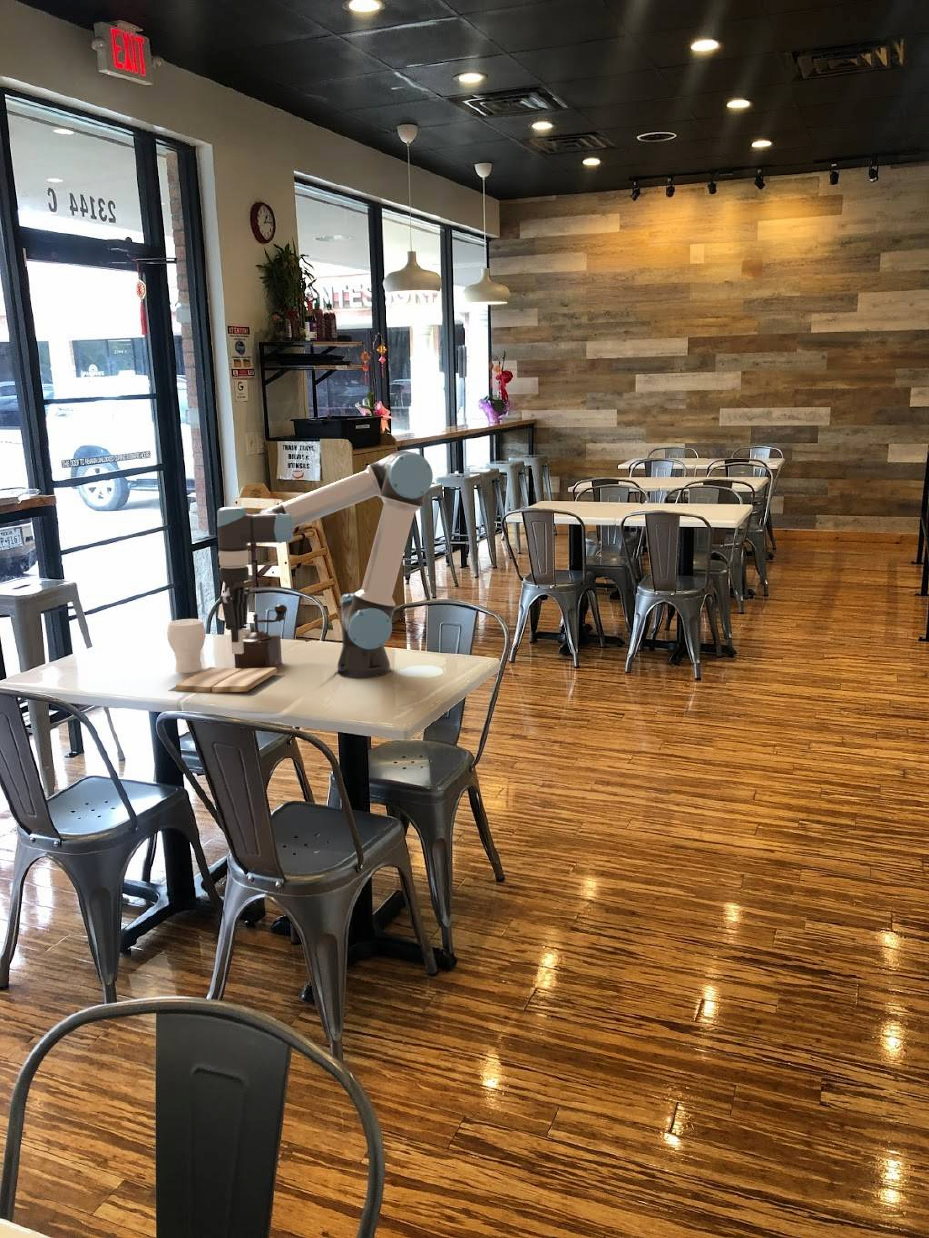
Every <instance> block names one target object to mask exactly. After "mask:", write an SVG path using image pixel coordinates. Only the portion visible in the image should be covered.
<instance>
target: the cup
mask: <svg viewBox="0 0 929 1238" xmlns="http://www.w3.org/2000/svg"><path fill="white" fill-rule="evenodd" d="M166 634H167V635H166V637H167V640H168V641H167V642H168V643H169V646H170V648H171V649H172V651H173V654H174V657H175V661H176V662H175V663H176V664H175V672H177V673H185V674H189V673H190V674H191V673H195V672H199V671H200V672H201V671H203V665H202V662H201V661H202V660H201V654H202V652H201V651H202V649H203V647H204V645H205V639H206V628H205V625H204V621H203V620H202V619H199V618H183V619H176V620H172V621H170V622H168V626H167V632H166Z"/></svg>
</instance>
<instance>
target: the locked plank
mask: <svg viewBox="0 0 929 1238" xmlns="http://www.w3.org/2000/svg"><path fill="white" fill-rule="evenodd" d="M240 670H242V669H241V668H235V667H234V668H233V667H217V666H216V667H215V666H209V667H208V668H206V669H204V670H201V671H200V672H198V673H196V674H194V675H192V676H191V677H188V678H187V679H185V680H183V681H181V682H180V683H178V684H176V685H175V687H176V691H175V692H179V691H193V692H192V693H198V692H212V687H213V686H214V685H216V684H218V683H220V682H221V681H223V680H225V679H226V678H228V677H230V676H232V675H233V674H235V673H237V672H239V671H240Z"/></svg>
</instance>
